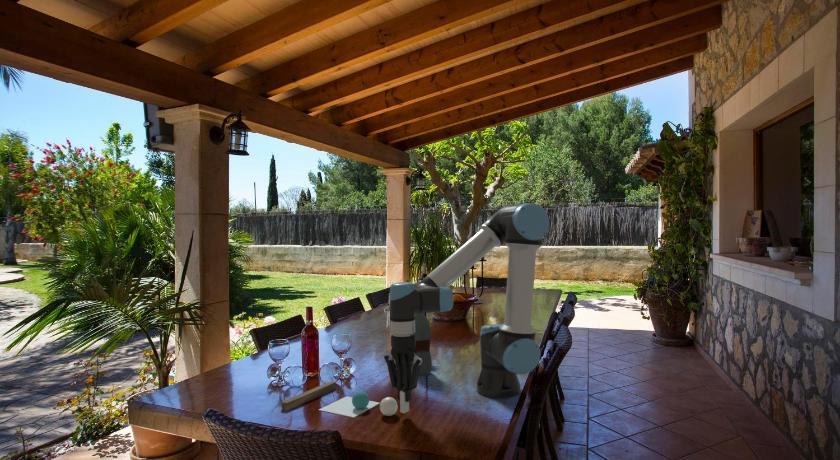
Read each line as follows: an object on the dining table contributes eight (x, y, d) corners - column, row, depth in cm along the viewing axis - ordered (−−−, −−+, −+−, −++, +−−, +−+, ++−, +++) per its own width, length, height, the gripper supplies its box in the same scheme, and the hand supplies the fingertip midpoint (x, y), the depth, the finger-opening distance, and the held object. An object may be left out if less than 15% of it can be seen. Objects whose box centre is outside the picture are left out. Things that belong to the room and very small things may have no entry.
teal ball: (368, 386, 164) (356, 392, 167) (357, 391, 159) (345, 397, 162) (375, 403, 163) (363, 408, 165) (364, 408, 158) (352, 414, 161)
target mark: (380, 403, 167) (380, 402, 167) (353, 417, 155) (353, 417, 155) (346, 396, 174) (346, 396, 174) (318, 410, 162) (318, 409, 162)
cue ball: (387, 391, 159) (383, 407, 160) (378, 398, 154) (374, 414, 155) (402, 398, 157) (398, 414, 158) (393, 405, 152) (390, 421, 153)
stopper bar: (335, 389, 183) (335, 382, 183) (287, 410, 162) (287, 403, 162) (330, 388, 184) (330, 381, 184) (281, 409, 163) (281, 401, 163)
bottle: (429, 377, 194) (427, 299, 194) (406, 376, 196) (404, 299, 196) (433, 370, 203) (432, 295, 203) (411, 369, 205) (409, 295, 205)
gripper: (427, 333, 154) (429, 411, 154) (391, 329, 160) (393, 404, 160) (415, 338, 147) (417, 419, 147) (378, 334, 154) (380, 412, 154)
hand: (404, 411), depth 154 cm, fingers closed
